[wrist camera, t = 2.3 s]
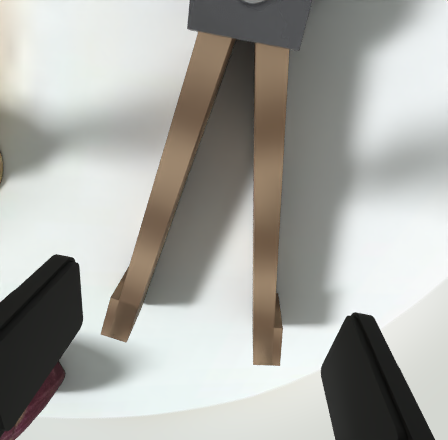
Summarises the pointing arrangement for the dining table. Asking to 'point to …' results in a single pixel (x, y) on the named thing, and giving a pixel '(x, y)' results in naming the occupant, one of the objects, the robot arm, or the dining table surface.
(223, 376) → the dining table surface
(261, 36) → the hinge block
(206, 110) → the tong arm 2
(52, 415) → the dining table surface
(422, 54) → the dining table surface
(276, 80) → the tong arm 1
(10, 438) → the vegetable
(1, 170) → the hand bell
